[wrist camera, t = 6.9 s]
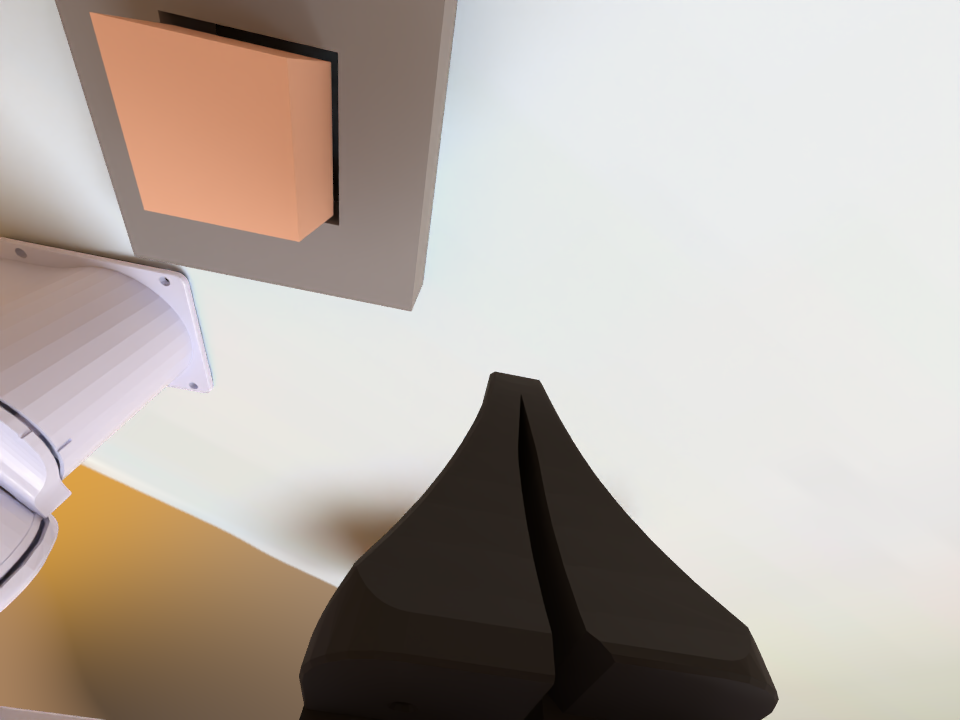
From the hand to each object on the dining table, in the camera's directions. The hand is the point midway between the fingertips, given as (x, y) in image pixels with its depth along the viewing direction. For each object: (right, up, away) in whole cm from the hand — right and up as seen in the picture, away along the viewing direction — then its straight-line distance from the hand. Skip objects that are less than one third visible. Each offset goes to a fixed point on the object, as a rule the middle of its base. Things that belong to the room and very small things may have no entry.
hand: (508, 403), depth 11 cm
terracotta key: (-9, +9, +3) cm, 13 cm away
